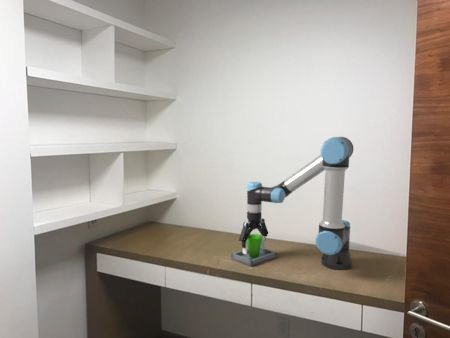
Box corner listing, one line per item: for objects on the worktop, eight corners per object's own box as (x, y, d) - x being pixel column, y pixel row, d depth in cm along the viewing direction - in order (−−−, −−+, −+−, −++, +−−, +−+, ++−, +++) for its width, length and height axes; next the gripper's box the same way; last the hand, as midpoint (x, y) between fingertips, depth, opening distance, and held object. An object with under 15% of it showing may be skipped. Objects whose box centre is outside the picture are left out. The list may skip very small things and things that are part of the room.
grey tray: (276, 257, 192) (276, 252, 191) (251, 266, 179) (251, 261, 179) (256, 250, 202) (256, 245, 202) (231, 259, 190) (231, 253, 189)
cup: (261, 260, 185) (261, 239, 184) (244, 258, 187) (244, 238, 186) (263, 254, 194) (263, 234, 193) (246, 253, 196) (246, 233, 195)
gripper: (264, 206, 199) (264, 243, 201) (232, 214, 182) (232, 254, 185) (275, 209, 193) (274, 247, 196) (242, 216, 177) (242, 258, 179)
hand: (253, 250), depth 190 cm, fingers open, 13 cm apart
